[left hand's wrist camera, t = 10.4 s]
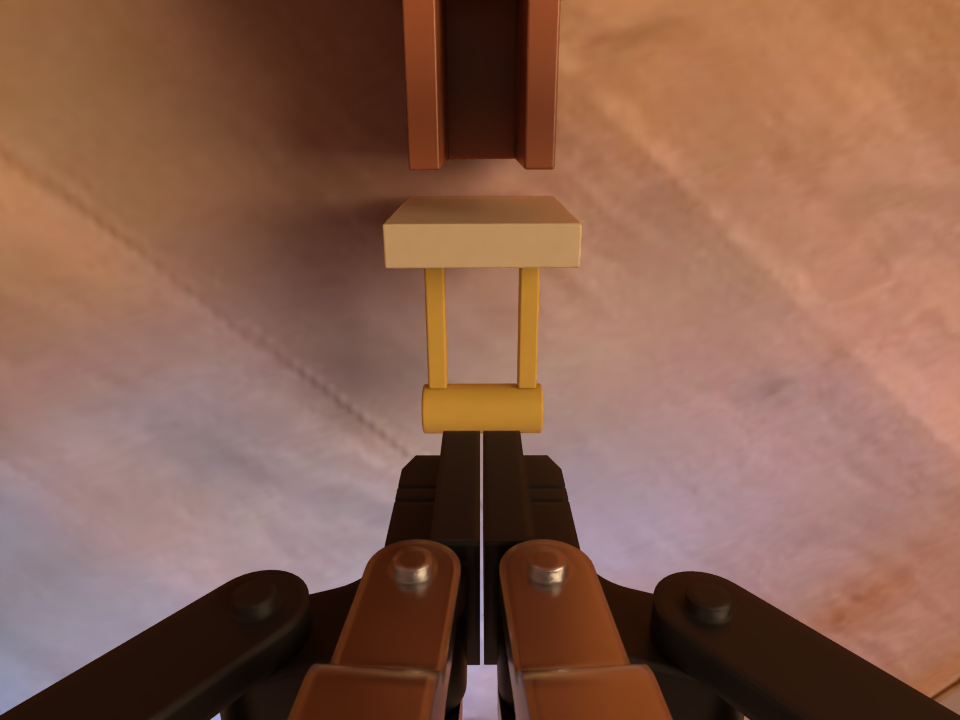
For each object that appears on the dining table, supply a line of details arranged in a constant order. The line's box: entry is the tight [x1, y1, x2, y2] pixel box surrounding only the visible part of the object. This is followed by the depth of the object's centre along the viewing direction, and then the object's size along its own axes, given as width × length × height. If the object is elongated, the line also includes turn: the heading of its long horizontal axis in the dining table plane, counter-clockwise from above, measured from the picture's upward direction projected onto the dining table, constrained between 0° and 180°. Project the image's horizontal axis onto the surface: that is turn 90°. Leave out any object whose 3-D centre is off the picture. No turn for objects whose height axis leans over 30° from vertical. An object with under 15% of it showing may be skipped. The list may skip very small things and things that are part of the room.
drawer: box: [382, 0, 582, 433], centre depth 18 cm, size 24×5×7 cm, turn 0°
